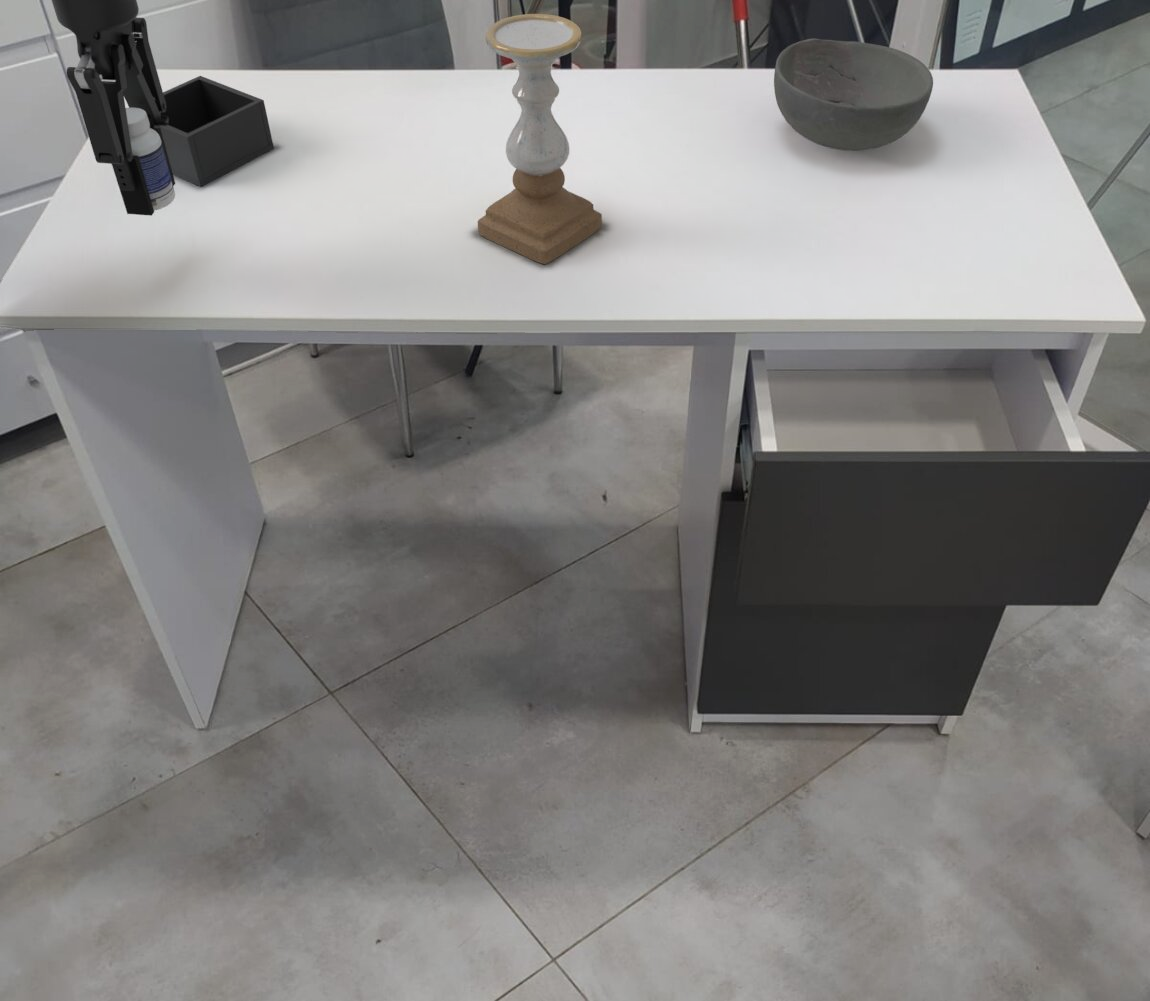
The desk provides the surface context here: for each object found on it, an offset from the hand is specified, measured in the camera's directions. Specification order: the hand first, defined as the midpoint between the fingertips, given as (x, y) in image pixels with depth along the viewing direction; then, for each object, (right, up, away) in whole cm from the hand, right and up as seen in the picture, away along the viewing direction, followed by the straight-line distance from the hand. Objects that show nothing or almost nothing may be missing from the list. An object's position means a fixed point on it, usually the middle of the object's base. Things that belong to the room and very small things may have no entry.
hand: (151, 198), depth 121 cm
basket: (-3, +13, +27) cm, 31 cm away
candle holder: (+42, -1, +13) cm, 44 cm away
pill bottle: (0, 0, 0) cm, 1 cm away
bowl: (+82, +16, +29) cm, 89 cm away
